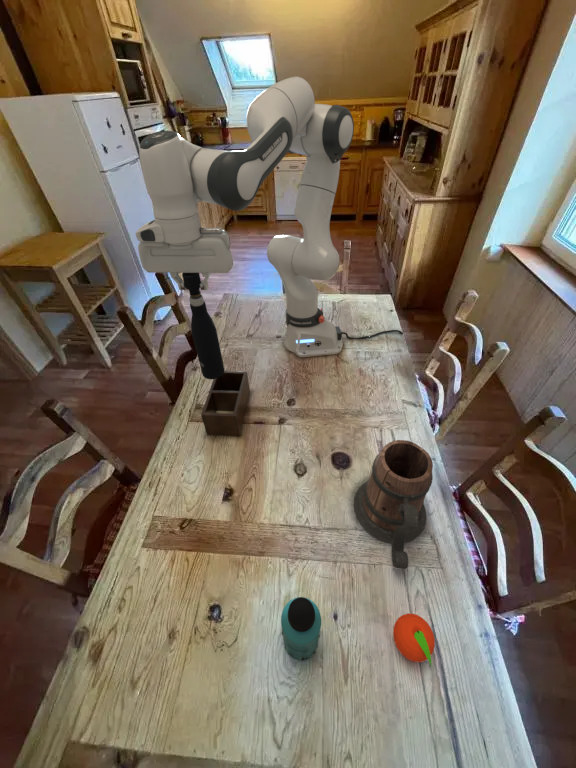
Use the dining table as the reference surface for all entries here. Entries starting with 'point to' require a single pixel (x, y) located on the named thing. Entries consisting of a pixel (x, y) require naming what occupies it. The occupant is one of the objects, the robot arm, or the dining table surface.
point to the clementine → (414, 638)
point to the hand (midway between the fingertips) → (194, 288)
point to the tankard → (396, 497)
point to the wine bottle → (203, 330)
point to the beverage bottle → (301, 628)
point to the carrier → (226, 404)
